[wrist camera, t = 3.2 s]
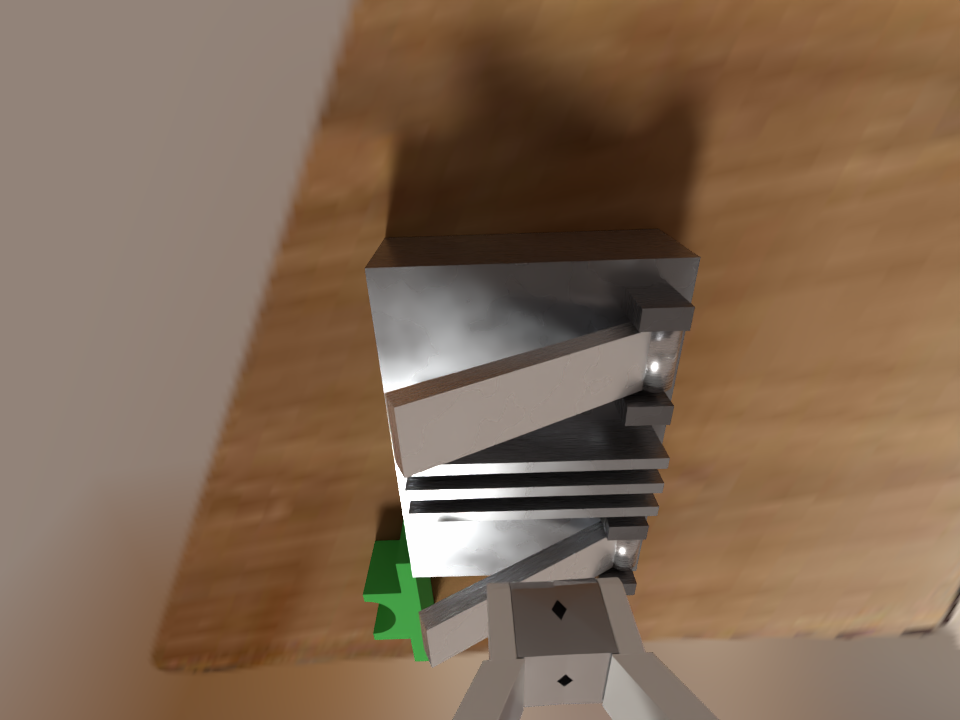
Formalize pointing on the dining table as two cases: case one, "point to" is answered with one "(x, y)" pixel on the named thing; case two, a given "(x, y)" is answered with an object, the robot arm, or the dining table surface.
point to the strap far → (571, 558)
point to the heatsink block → (511, 331)
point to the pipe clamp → (397, 594)
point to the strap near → (524, 393)
